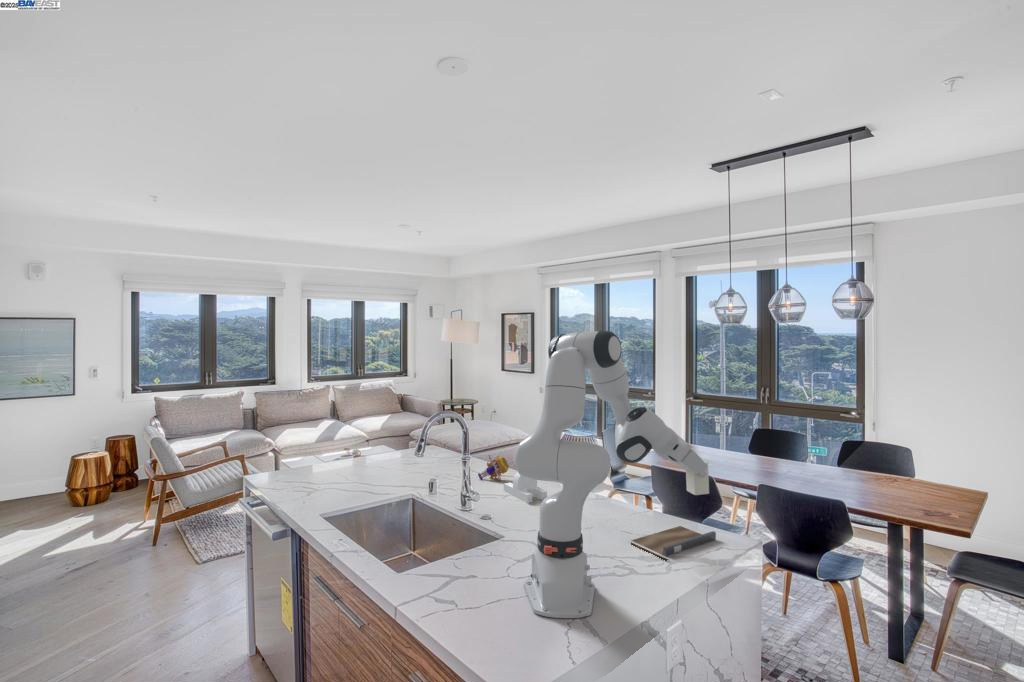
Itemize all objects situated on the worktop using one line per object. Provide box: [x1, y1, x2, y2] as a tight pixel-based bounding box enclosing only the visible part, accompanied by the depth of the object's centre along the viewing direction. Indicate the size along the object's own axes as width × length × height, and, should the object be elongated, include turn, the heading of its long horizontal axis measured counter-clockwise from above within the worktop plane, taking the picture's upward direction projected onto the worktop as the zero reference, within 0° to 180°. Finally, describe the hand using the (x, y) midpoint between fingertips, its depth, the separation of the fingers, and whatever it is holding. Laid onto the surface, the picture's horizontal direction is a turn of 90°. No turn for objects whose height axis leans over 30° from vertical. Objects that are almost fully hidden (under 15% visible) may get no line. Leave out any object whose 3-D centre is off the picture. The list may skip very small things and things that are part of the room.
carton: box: [685, 460, 710, 496], centre depth 164 cm, size 5×5×10 cm
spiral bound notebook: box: [630, 525, 703, 562], centre depth 164 cm, size 14×24×2 cm, turn 123°
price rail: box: [662, 530, 717, 557], centre depth 158 cm, size 1×24×2 cm, turn 123°
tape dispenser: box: [503, 471, 548, 504], centre depth 213 cm, size 18×10×11 cm, turn 32°
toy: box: [477, 454, 510, 482], centre depth 237 cm, size 14×7×15 cm
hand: (698, 473), depth 164 cm, fingers closed on carton, 5 cm apart
